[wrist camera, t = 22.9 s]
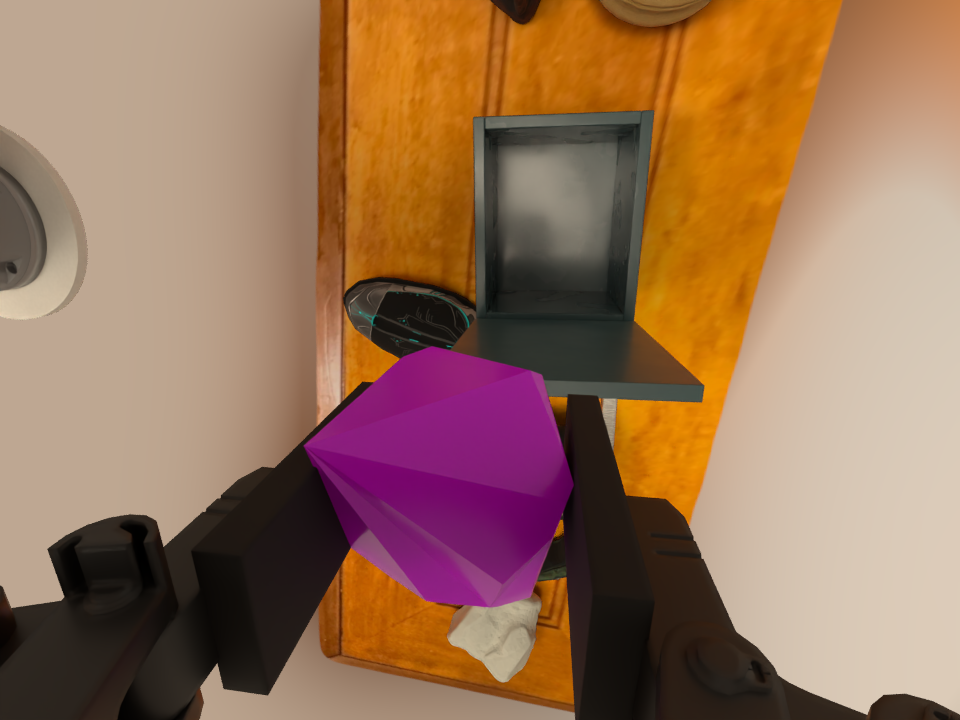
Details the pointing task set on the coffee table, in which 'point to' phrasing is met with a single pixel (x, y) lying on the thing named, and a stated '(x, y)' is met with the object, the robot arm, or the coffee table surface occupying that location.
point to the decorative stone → (497, 634)
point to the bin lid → (585, 359)
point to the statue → (518, 9)
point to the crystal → (449, 476)
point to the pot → (653, 10)
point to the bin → (560, 214)
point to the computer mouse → (407, 314)
